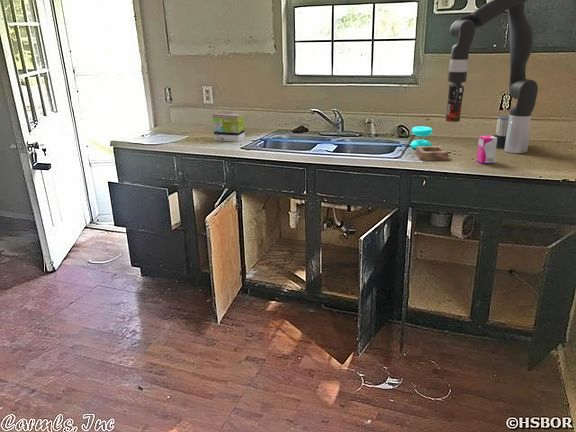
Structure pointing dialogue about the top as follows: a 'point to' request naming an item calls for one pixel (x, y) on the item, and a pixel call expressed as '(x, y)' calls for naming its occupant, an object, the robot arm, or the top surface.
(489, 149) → the supplement box
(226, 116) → the tea box
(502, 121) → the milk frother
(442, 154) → the collar block
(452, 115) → the deodorant
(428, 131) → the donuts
